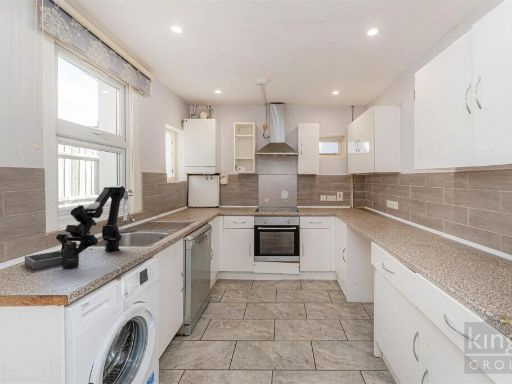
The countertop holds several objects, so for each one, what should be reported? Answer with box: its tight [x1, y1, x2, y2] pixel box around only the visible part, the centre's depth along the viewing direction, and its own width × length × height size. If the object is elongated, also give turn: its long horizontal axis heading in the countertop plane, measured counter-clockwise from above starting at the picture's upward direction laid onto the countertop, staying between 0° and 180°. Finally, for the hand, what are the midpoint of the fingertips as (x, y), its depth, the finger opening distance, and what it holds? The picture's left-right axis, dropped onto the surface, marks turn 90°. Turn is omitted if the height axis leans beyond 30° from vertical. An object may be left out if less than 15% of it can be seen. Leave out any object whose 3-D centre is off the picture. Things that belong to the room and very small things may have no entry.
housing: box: [24, 250, 62, 271], centre depth 139 cm, size 15×15×4 cm
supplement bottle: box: [61, 241, 80, 270], centre depth 134 cm, size 7×7×12 cm
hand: (68, 254), depth 132 cm, fingers closed on supplement bottle, 7 cm apart
